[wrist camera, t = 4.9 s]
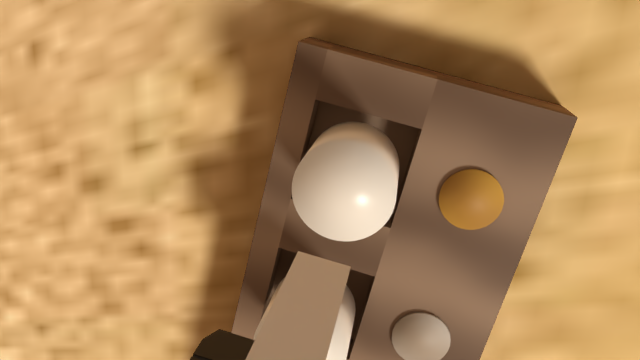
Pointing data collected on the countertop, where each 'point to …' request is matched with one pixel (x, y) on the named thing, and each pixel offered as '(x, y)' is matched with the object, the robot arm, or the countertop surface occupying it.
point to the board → (412, 200)
